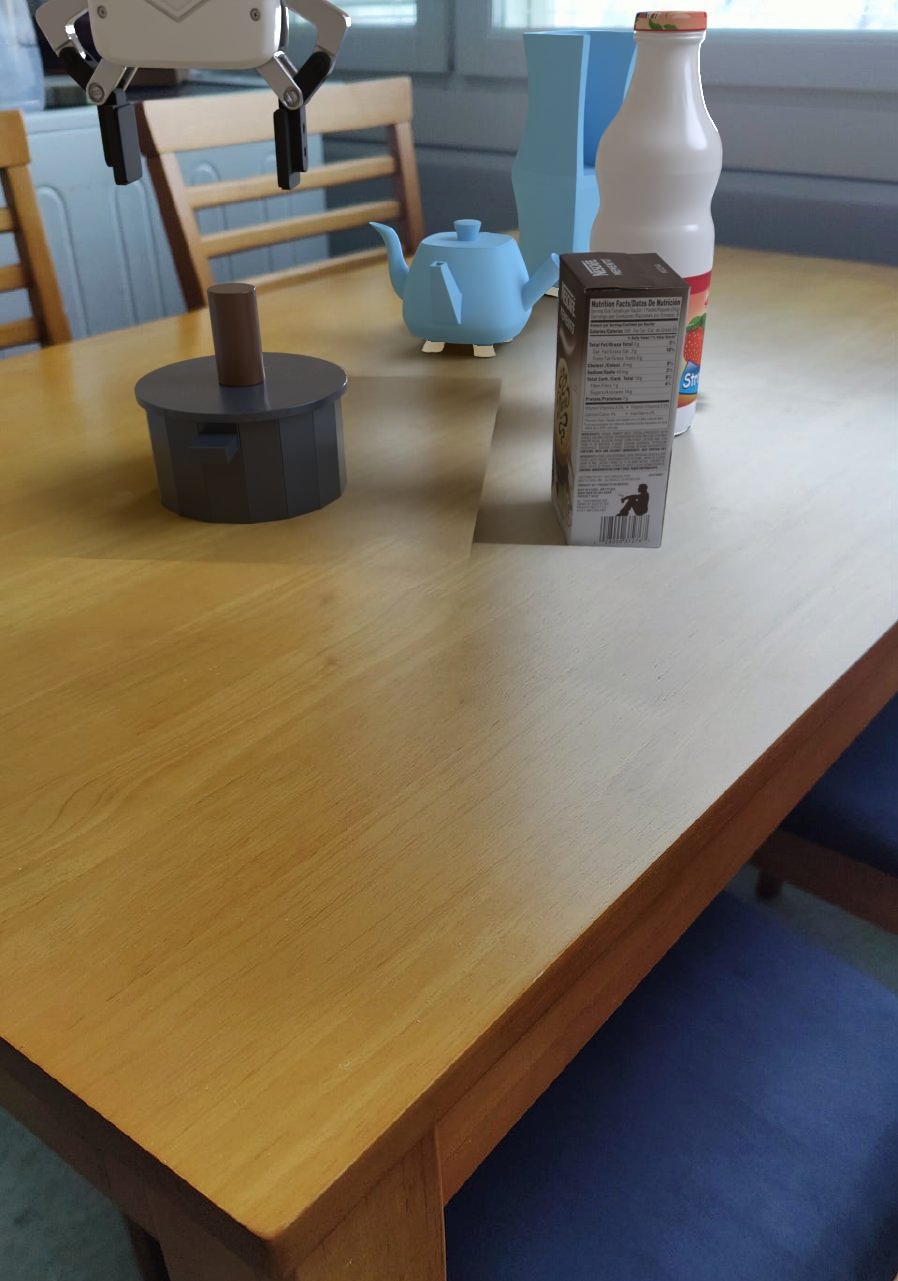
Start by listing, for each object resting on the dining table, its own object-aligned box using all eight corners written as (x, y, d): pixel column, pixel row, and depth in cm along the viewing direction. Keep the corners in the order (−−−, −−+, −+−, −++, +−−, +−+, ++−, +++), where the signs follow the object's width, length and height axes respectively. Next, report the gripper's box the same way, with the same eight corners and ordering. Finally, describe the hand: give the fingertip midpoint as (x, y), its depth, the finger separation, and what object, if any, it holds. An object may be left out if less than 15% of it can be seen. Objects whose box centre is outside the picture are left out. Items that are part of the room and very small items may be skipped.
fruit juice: (567, 409, 97) (587, 11, 80) (674, 403, 98) (716, 8, 81) (593, 446, 89) (621, 15, 73) (708, 439, 90) (762, 12, 74)
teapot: (420, 372, 106) (416, 240, 99) (373, 337, 116) (368, 215, 110) (566, 355, 110) (573, 227, 104) (509, 323, 121) (512, 204, 114)
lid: (107, 431, 69) (85, 314, 65) (172, 368, 80) (156, 264, 76) (328, 436, 68) (319, 316, 64) (363, 371, 79) (357, 265, 75)
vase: (570, 300, 128) (583, 35, 114) (509, 286, 134) (514, 33, 119) (627, 286, 134) (646, 31, 119) (565, 274, 140) (577, 29, 125)
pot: (127, 566, 72) (101, 433, 67) (202, 466, 86) (186, 351, 81) (321, 572, 71) (310, 437, 66) (365, 470, 85) (359, 353, 80)
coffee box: (546, 499, 80) (556, 251, 71) (636, 496, 81) (658, 249, 71) (566, 553, 73) (580, 284, 63) (665, 549, 73) (694, 281, 64)
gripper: (-29, -211, 54) (42, 190, 64) (327, -210, 53) (343, 199, 63) (32, -193, 60) (88, 172, 70) (353, -191, 59) (364, 179, 69)
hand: (209, 184), depth 67 cm, fingers open, 9 cm apart
